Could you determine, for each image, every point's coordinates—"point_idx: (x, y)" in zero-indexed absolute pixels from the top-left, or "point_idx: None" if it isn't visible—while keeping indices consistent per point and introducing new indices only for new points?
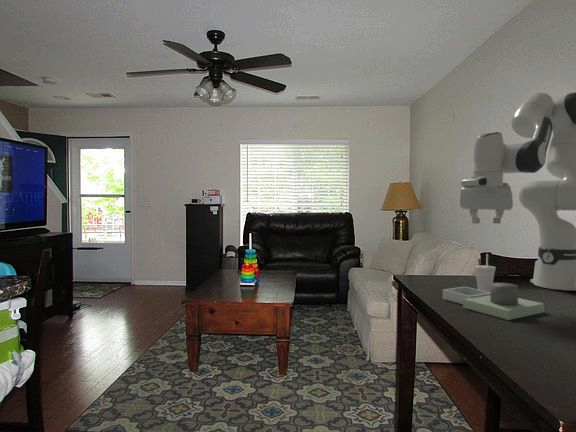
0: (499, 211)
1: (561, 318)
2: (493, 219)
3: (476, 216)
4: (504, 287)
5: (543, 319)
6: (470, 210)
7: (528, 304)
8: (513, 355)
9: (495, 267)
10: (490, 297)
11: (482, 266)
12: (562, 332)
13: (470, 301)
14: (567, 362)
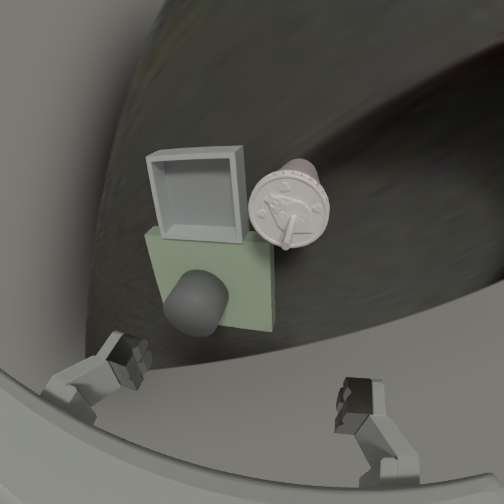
0: (363, 485)
1: (265, 343)
2: (346, 403)
3: (101, 389)
4: (172, 324)
5: (232, 331)
6: (48, 394)
7: (237, 320)
8: None
9: (311, 242)
10: (179, 280)
11: (275, 210)
12: (201, 357)
13: (149, 250)
14: None
